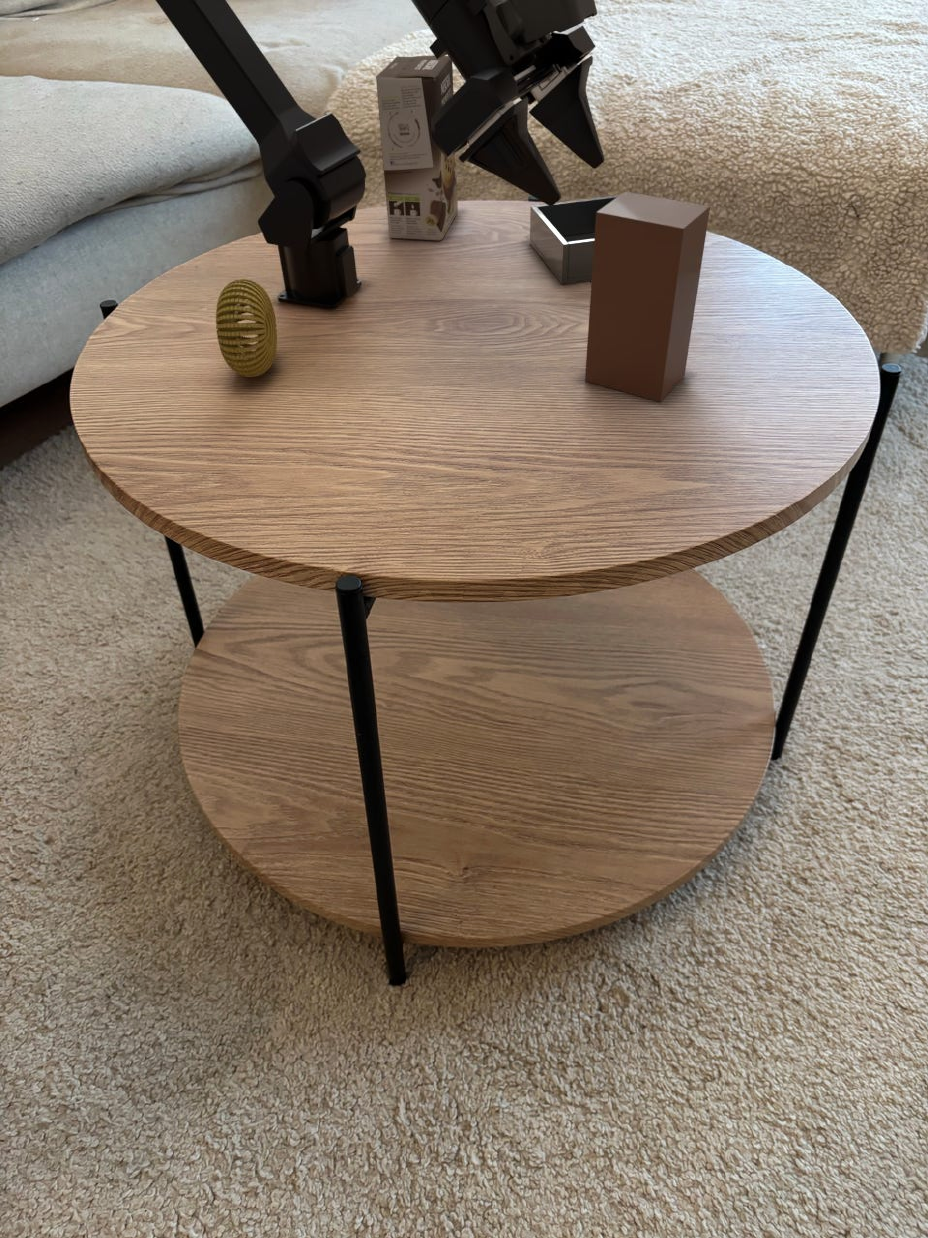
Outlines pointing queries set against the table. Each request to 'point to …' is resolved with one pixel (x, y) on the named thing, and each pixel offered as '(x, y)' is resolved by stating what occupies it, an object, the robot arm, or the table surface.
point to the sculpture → (246, 328)
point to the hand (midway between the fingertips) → (579, 182)
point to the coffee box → (416, 147)
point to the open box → (567, 236)
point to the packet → (644, 292)
